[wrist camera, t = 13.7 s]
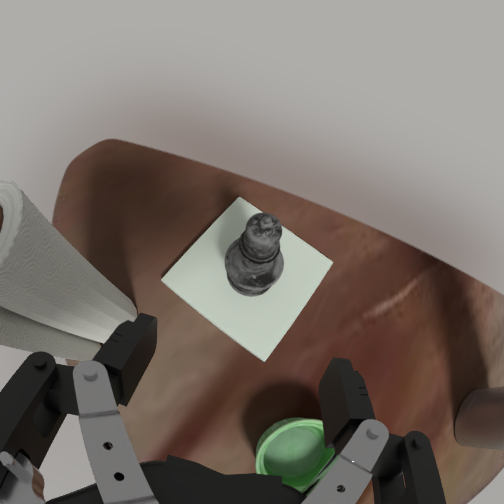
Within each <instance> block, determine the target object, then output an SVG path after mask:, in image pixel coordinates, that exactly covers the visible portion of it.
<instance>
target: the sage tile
mask: <svg viewBox="0 0 504 504" xmlns="http://www.w3.org/2000/svg"><path fill="white" fill-rule="evenodd" d="M257 213H263V212H261V211H260V210H258V209H257V208H255V207H254V206H253V205H251V204H250V203H248V202H247V201H245V200H244V199H242V198H241V197H238V198H237V199H236V200H235V201H234V202H233V203H232V205H231V206H230V207H229V208H228V209H227V210H226V211H225V212H224V213H223V214H222V215H221V216H220V217H219V218H218V219H217V220H216V221H215V222H214V223H213V224H212V225H211V226H210V227H209V228H208V229H207V230H206V232H205V233H204V234H203V235H202V236H201V237H200V238H199V239H198V240H197V241H196V242H195V243H194V244H193V245H192V246H191V248H190V249H189V250H188V251H187V252H186V253H185V254H184V255H183V256H182V257H181V258H180V259H179V261H178V262H177V263H176V264H175V265H174V266H173V267H172V268H171V269H170V270H169V272H168V273H167V274H166V275H165V276H164V277H163V278H162V279H161V281H162V282H163V283H164V284H165V285H166V286H167V287H168V288H170V289H171V290H172V291H173V292H174V293H175V294H177V295H178V296H179V297H180V298H181V299H183V300H184V301H185V302H186V303H187V304H189V305H190V306H191V307H192V308H193V309H195V310H196V311H197V312H198V313H200V314H201V315H202V316H203V317H205V318H206V319H207V320H208V321H210V322H211V323H212V324H213V325H215V326H216V327H217V328H219V329H220V330H221V331H222V332H224V333H225V334H226V335H228V336H229V337H230V338H232V339H233V340H234V341H236V342H237V343H238V344H240V345H241V346H242V347H244V348H245V349H246V350H248V351H249V352H250V353H252V354H253V355H255V356H256V357H257V358H259V359H260V360H262V361H263V362H265V361H266V359H267V358H268V357H269V355H270V354H271V353H272V351H273V350H274V349H275V347H276V346H277V344H278V343H279V342H280V340H281V339H282V338H283V336H284V335H285V333H286V332H287V331H288V329H289V328H290V326H291V325H292V323H293V322H294V321H295V319H296V318H297V316H298V315H299V313H300V312H301V310H302V309H303V308H304V306H305V305H306V303H307V302H308V300H309V299H310V297H311V296H312V294H313V293H314V291H315V290H316V288H317V287H318V285H319V284H320V282H321V281H322V279H323V277H324V276H325V274H326V273H327V271H328V270H329V268H330V267H331V265H332V263H333V262H332V261H331V260H329V259H328V258H327V257H325V256H324V255H323V254H321V253H320V252H318V251H317V250H316V249H314V248H313V247H311V246H310V245H309V244H307V243H306V242H304V241H303V240H302V239H300V238H299V237H297V236H296V235H295V234H293V233H292V232H290V231H289V230H287V229H286V228H285V227H283V226H282V236H281V239H280V250H281V253H282V255H283V259H284V268H283V272H282V274H281V277H280V278H279V279H278V281H277V282H276V283H275V284H273V285H272V286H271V287H270V289H269V290H268V291H267V292H265V293H264V294H262V295H259V296H254V297H249V296H244V295H241V294H239V293H237V292H236V291H235V290H234V289H233V288H232V287H231V285H230V284H229V281H228V279H227V271H226V269H225V261H224V259H225V254H226V251H227V249H228V248H229V246H230V245H231V244H232V243H233V242H234V241H235V240H237V239H238V238H240V236H241V234H242V233H243V232H244V231H245V229H246V224H247V222H248V220H249V219H250V218H251V217H252V216H253V215H255V214H257Z"/></svg>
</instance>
